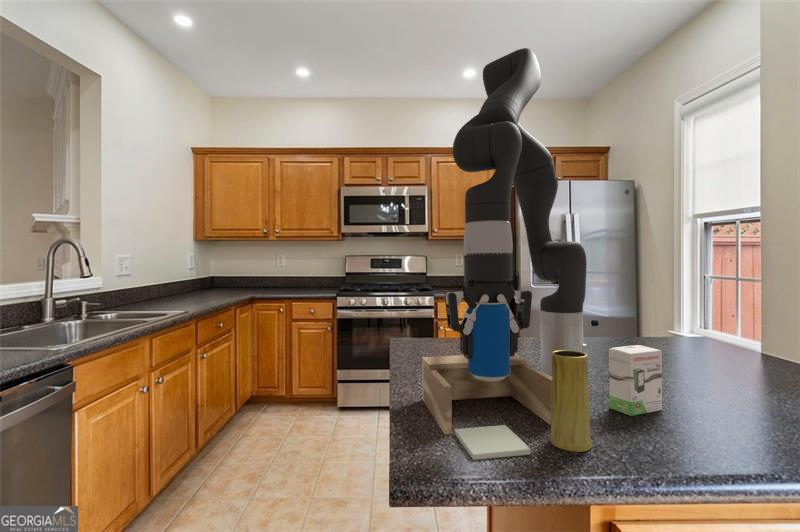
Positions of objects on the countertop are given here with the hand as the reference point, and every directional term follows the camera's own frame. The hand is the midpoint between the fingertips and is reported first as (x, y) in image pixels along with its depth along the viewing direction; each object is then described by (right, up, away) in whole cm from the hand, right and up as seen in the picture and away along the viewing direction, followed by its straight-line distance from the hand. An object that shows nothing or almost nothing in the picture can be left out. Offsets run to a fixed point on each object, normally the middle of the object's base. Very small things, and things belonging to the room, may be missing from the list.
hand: (488, 356), depth 63 cm
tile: (0, -14, 0) cm, 14 cm away
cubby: (+2, -14, +13) cm, 19 cm away
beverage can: (0, -3, 0) cm, 3 cm away
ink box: (+31, -14, +14) cm, 37 cm away
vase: (+13, -14, 0) cm, 19 cm away
